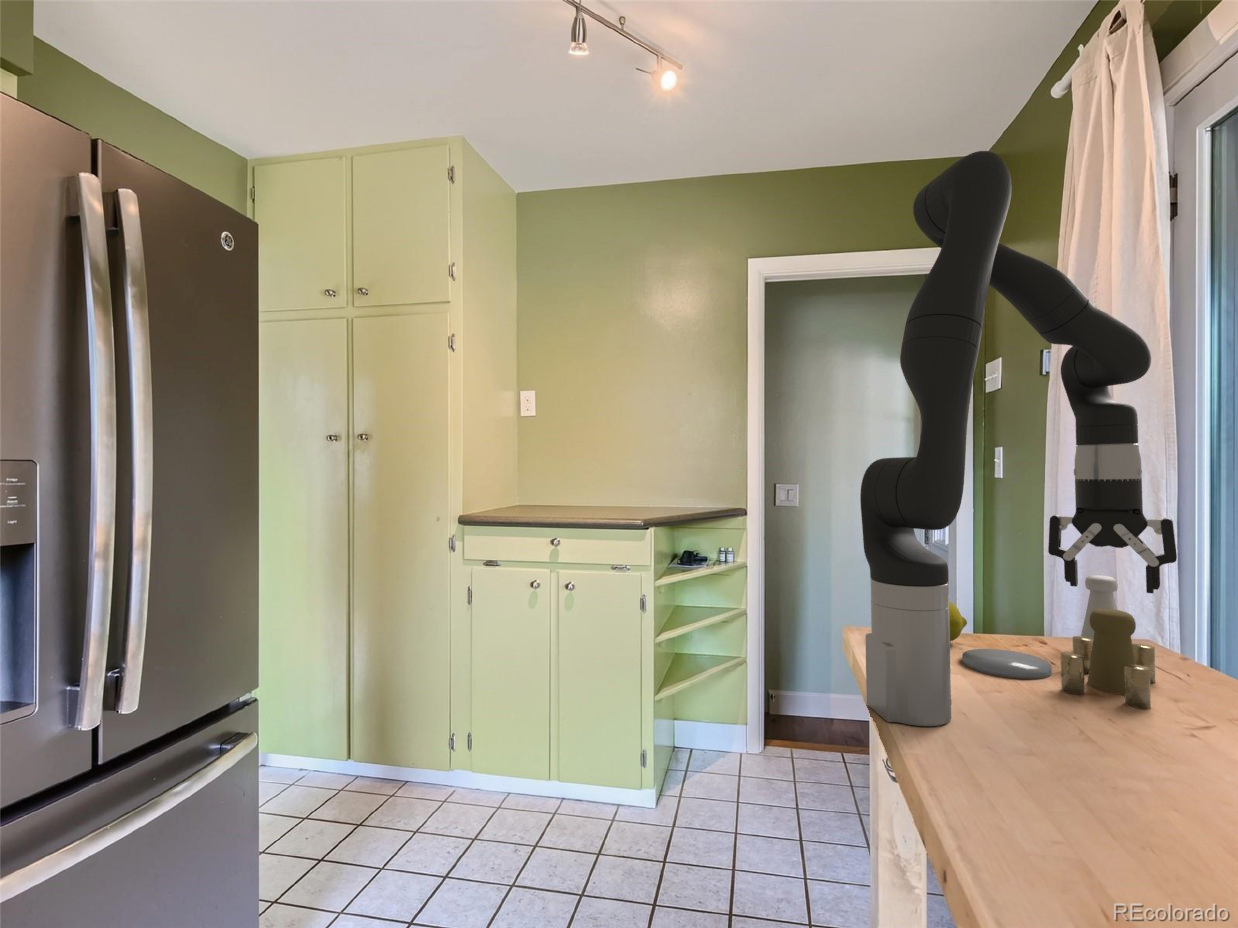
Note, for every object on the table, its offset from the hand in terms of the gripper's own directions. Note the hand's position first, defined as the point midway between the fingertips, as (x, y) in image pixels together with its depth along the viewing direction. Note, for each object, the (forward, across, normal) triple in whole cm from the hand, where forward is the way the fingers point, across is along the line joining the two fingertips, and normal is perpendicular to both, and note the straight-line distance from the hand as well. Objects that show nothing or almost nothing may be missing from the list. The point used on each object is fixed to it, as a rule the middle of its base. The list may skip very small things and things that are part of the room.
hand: (1110, 588), depth 88 cm
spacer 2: (+14, +4, -5) cm, 16 cm away
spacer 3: (+14, -3, -6) cm, 16 cm away
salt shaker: (+14, +3, -18) cm, 23 cm away
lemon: (+14, +26, -8) cm, 31 cm away
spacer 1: (+14, +4, +6) cm, 16 cm away
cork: (+14, 0, 0) cm, 14 cm away
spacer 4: (+14, -3, +7) cm, 16 cm away
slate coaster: (+14, +13, 0) cm, 19 cm away
